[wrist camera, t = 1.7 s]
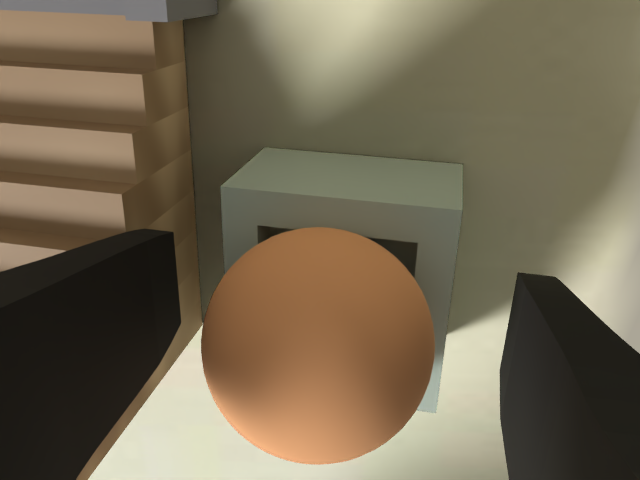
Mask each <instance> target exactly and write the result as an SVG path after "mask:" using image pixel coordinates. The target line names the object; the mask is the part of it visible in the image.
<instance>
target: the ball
mask: <svg viewBox="0 0 640 480" xmlns="http://www.w3.org/2000/svg"><path fill="white" fill-rule="evenodd" d="M201 353H202V362H203V369H204V374H205V377H206V381H207V384H208V387H209V389H210V392H211V394H212V396H213V399H214V401H215V403H216V404H217V406H218V408H219V410H220V411H221V413H222V414H223V415H224V417H225V418H226V419H227V421H228V422H229V423H230V424H231V425H232V426H233V428H234V429H235V430H236V431H237V432H238V433H239V434H240V435H242V436H243V437H244V438H245V439H246V440H248V441H249V442H250V443H252V444H253V445H255V446H256V447H258V448H260V449H261V450H263V451H265V452H267V453H269V454H271V455H274V456H276V457H279V458H282V459H285V460H288V461H292V462H297V463H304V464H331V463H338V462H344V461H348V460H351V459H354V458H357V457H360V456H362V455H364V454H366V453H368V452H371V451H373V450H375V449H377V448H378V447H380V446H381V445H383V444H384V443H386V442H387V441H388V440H390V439H391V438H392V437H393V436H394V435H395V434H396V433H398V432H399V431H400V430H401V429H402V428H403V427H404V426H405V424H406V423H407V422H408V421H409V419H410V418H411V417H412V415H413V414H414V413H415V411H416V410H417V408H418V406H419V405H420V403H421V401H422V399H423V397H424V395H425V392H426V390H427V387H428V384H429V382H430V378H431V373H432V369H433V364H434V357H435V336H434V327H433V321H432V318H431V314H430V310H429V307H428V304H427V301H426V299H425V297H424V294H423V292H422V290H421V289H420V287H419V285H418V284H417V282H416V280H415V279H414V277H413V276H412V275H411V273H410V272H409V271H408V270H407V268H406V267H405V266H404V265H403V264H402V263H401V262H400V261H399V260H398V259H397V258H396V257H395V256H394V255H393V254H392V253H390V252H389V251H388V250H386V249H385V248H384V247H382V246H381V245H379V244H377V243H375V242H374V241H372V240H370V239H368V238H366V237H363V236H361V235H359V234H356V233H352V232H349V231H346V230H341V229H335V228H327V227H311V228H301V229H297V230H292V231H287V232H284V233H281V234H278V235H275V236H272V237H270V238H269V239H267V240H265V241H263V242H261V243H259V244H257V245H256V246H254V247H253V248H251V249H250V250H249V251H247V252H246V253H245V254H243V255H242V256H241V257H240V258H239V259H238V260H237V261H236V262H235V263H234V264H233V265H232V266H231V267H230V268H229V270H228V271H227V272H226V274H225V275H224V276H223V278H222V279H221V281H220V282H219V284H218V286H217V287H216V289H215V291H214V293H213V295H212V297H211V300H210V302H209V305H208V308H207V311H206V315H205V318H204V323H203V329H202V338H201Z"/></svg>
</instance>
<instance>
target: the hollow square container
mask: <svg viewBox="0 0 640 480" xmlns="http://www.w3.org/2000/svg"><path fill="white" fill-rule="evenodd" d="M220 190H221V212H222V234H223V256H224V275H225V274H226V272H227V271H228V270H229V268H230V267H231V266H232V265H233V264H234V263H235V262H236V261H237V260H238V259H239V258H240V257H241V256H242V255H243V254H245V253H246V252H247V251H249V250H250V249H251V248H253V247H254V246H256V245H257V244H259V243H261V242H263V241H265V240H267V239H269V238H270V237H272V236H275V235H278V234H281V233H284V232H287V231H292V230H297V229H301V228H311V227H327V228H335V229H341V230H346V231H349V232H352V233H356V234H359V235H361V236H363V237H366V238H368V239H370V240H372V241H374V242H375V243H377V244H379V245H381V246H382V247H384V248H385V249H386V250H388V251H389V252H390V253H392V254H393V255H394V256H395V257H396V258H397V259H398V260H399V261H400V262H401V263H402V264H403V265H404V266H405V267H406V268H407V270H408V271H409V272H410V273H411V275H412V276H413V277H414V279H415V280H416V282H417V284H418V285H419V287H420V289H421V290H422V292H423V294H424V297H425V299H426V301H427V304H428V307H429V310H430V314H431V318H432V321H433V327H434V336H435V357H434V364H433V369H432V373H431V378H430V382H429V384H428V387H427V390H426V392H425V395H424V397H423V399H422V401H421V403H420V405H419V406H418V408H417V410H418V411H424V412H430V413H436V410H437V402H438V394H439V387H440V379H441V371H442V364H443V356H444V349H445V341H446V333H447V326H448V318H449V311H450V303H451V295H452V288H453V280H454V273H455V265H456V257H457V250H458V242H459V235H460V227H461V219H462V212H463V164H456V163H444V162H432V161H421V160H409V159H397V158H385V157H373V156H362V155H350V154H338V153H326V152H314V151H302V150H291V149H279V148H267V147H265V148H264V149H262V150H261V151H260V152H259V153H258V154H257V155H256V156H254V157H253V158H252V159H251V160H250V161H249V162H248V163H246V164H245V165H244V166H243V167H242V168H241V169H240V170H238V171H237V172H236V173H235V174H234V175H233V176H232V177H231V178H229V179H228V180H227V181H226V182H225V183H224V184H223V185H221V186H220Z"/></svg>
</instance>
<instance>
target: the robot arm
mask: <svg viewBox="0 0 640 480" xmlns="http://www.w3.org/2000/svg"><path fill="white" fill-rule="evenodd" d="M180 325H181V312H180V301H179V289H178V278H177V266H176V255H175V244H174V232H170V231H161V230H153V229H138V230H133V231H129V232H125V233H121V234H118V235H114V236H111V237H108V238H105V239H101V240H98V241H95V242H92V243H89V244H86V245H83V246H80V247H77V248H74V249H71V250H68V251H65V252H62V253H59V254H56V255H53V256H50V257H47V258H44V259H41V260H38V261H34V262H31V263H28V264H24V265H21V266H18V267H15V268H11V269H8V270H5V271H1V272H0V480H76V479H77V477H78V476H79V474H80V473H81V471H82V470H83V468H84V467H85V465H86V464H87V462H88V461H89V459H90V458H91V456H92V455H93V454H94V452H95V451H96V449H97V448H98V447H99V445H100V444H101V443H102V441H103V440H104V439H105V437H106V436H107V435H108V433H109V432H110V431H111V429H112V428H113V427H114V425H115V424H116V423H117V421H118V420H119V419H120V417H121V416H122V415H123V413H124V412H125V411H126V409H127V408H128V407H129V405H130V404H131V403H132V401H133V400H134V399H135V397H136V396H137V395H138V393H139V392H140V391H141V389H142V388H143V387H144V385H145V384H146V382H147V381H148V380H149V378H150V377H151V376H152V374H153V373H154V371H155V370H156V369H157V367H158V366H159V364H160V363H161V361H162V359H163V357H164V356H165V354H166V352H167V350H168V348H169V347H170V345H171V343H172V341H173V339H174V337H175V335H176V333H177V331H178V329H179V327H180ZM500 419H501V427H502V434H503V441H504V448H505V455H506V462H507V468H508V475H509V480H640V354H639V353H638V352H637V351H635V350H634V349H633V348H632V347H631V346H629V345H628V344H627V343H626V342H625V341H624V340H623V339H621V338H620V337H619V336H618V335H617V334H616V333H615V332H614V331H613V330H611V329H610V328H609V327H608V326H607V325H606V324H605V323H604V322H603V321H602V320H601V319H600V318H598V317H597V316H596V315H595V314H594V313H593V312H592V311H591V310H590V309H589V308H588V307H587V306H586V305H585V304H584V303H583V302H582V301H581V300H580V299H579V298H578V297H577V296H576V295H575V294H574V293H573V292H571V291H570V290H569V289H568V288H567V287H566V286H565V285H564V284H563V283H562V282H561V281H560V280H558V279H557V278H556V277H552V276H543V275H535V274H526V273H518V274H517V280H516V285H515V291H514V296H513V302H512V307H511V312H510V318H509V323H508V329H507V334H506V340H505V345H504V350H503V356H502V361H501V367H500Z"/></svg>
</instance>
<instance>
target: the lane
mask: <svg viewBox="0 0 640 480" xmlns="http://www.w3.org/2000/svg"><path fill="white" fill-rule="evenodd" d="M0 10H12V11H35V12H57V13H80V14H102V15H124V16H125V18H126V20H128V21H150V22H173V21H179V20H185V19H191V18H197V17H203V16H209V15H215V14H218V10H217V0H0Z"/></svg>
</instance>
